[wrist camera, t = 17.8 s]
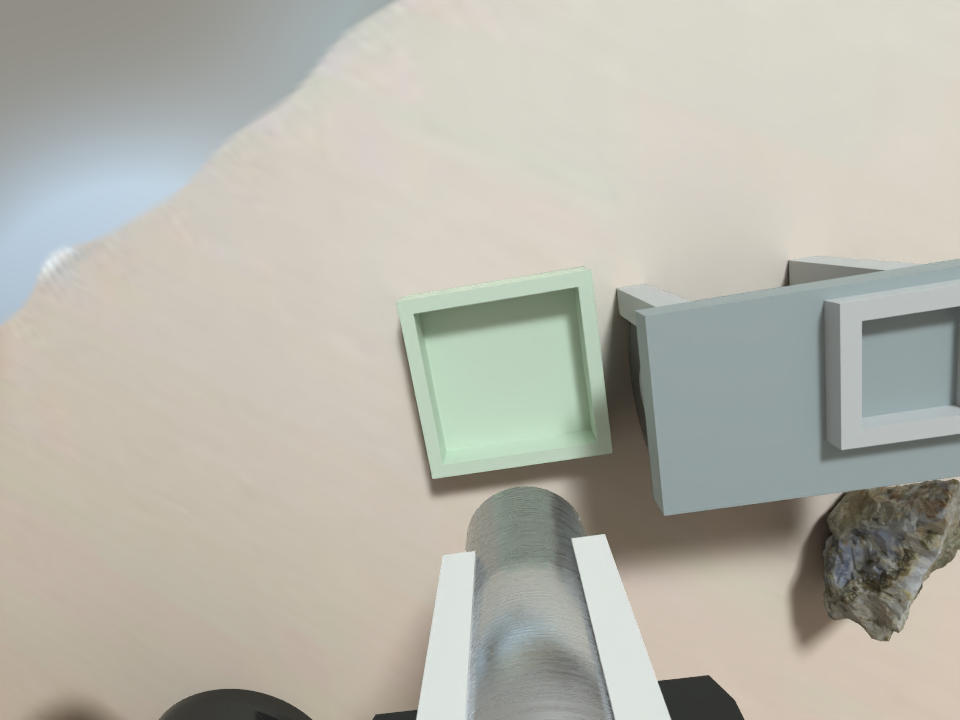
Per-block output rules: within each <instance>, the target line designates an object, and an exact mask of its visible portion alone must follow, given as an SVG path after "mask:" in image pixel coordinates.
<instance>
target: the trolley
mask: <svg viewBox="0 0 960 720" xmlns="http://www.w3.org/2000/svg"><path fill="white" fill-rule="evenodd" d="M617 296H618V306H619V315H621V316H622V317H624V318H625V319H627V320H628V321H630V322H631V328H630V337H629V358H630V371H631V380H632V387H633V393H634V399H635V404H636V409H637V413H638V418H639V422H640V425H641V429H642V432H643V436H644V439H645V442H646V445H647V447H648V450H649V457H650V467H651V477H652V487H653V497H654V500H655V501H656V503H657V505H658V506H659V508H660V510H661V512H662V513H663V515H664V516H668V515H675V514H683V513H690V512H698V511H705V510H712V509H720V508H727V507H735V506H742V505H750V504H757V503H765V502H772V501H779V500H787V499H794V498H802V497H809V496H817V495H824V494H832V493H839V492H846V491H854V490H861V489H869V488H876V487H884V486H891V485H899V484H906V483H913V482H921V481H928V480H936V479H943V478H951V477H958V476H960V259H954V260H948V261H942V262H936V263H929V264H913V263H901V262H888V261H876V260H863V259H850V258H838V257H825V256H813V257H807V258H800V259H794V260H789V286H785V287H779V288H772V289H766V290H760V291H754V292H747V293H741V294H735V295H728V296H722V297H716V298H710V299H703V300H697V301H690V300H687V299H684V298H681V297H679V296H676V295H673V294H670V293H667V292H665V291H662V290H659V289H656V288H654V287H651V286H648V285H645V284H640V285H634V286H628V287H622V288H617Z"/></svg>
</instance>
